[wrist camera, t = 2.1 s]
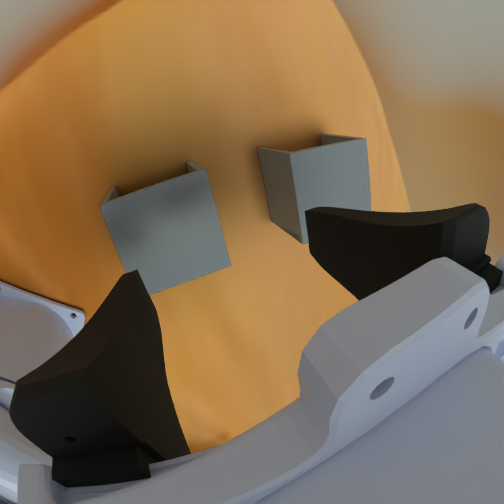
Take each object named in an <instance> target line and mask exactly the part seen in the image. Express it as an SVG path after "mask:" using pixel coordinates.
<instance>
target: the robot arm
mask: <svg viewBox="0 0 504 504" xmlns="http://www.w3.org/2000/svg"><path fill="white" fill-rule="evenodd" d="M305 219H306V226H307V234H308V241H309V250H310V254H311V255H312V256H313V257H314V259H315V260H316V261H317V262H318V263H319V265H320V266H321V267H322V268H323V269H324V270H325V271H326V272H328V273H329V274H330V275H331V276H332V277H333V278H334V279H336V280H337V281H338V282H339V283H340V284H341V285H342V286H344V287H345V288H346V289H347V290H348V291H349V292H350V293H352V294H353V295H354V296H355V297H356V298H357V299H358V300H359V301H358V302H356V303H354V304H352V305H350V306H348V307H346V308H344V309H343V310H341V311H340V312H339V313H337V314H336V315H335V316H333V317H332V318H330V319H329V320H328V321H326V322H325V323H324V324H322V325H321V326H320V327H319V329H318V330H317V331H316V333H315V334H314V335H313V337H312V338H311V339H310V341H309V342H308V343H307V345H306V346H305V347H304V349H303V351H302V356H301V360H300V365H299V370H298V377H299V384H300V397H299V398H297V399H296V400H294V401H293V402H291V403H290V404H288V405H287V406H285V407H284V408H282V409H281V410H279V411H278V412H276V413H275V414H273V415H272V416H270V417H268V418H267V419H265V420H264V421H262V422H260V423H259V424H257V425H255V426H254V427H252V428H250V429H249V430H247V431H245V432H244V433H242V434H240V435H238V436H237V437H235V438H233V439H231V440H229V441H228V442H226V443H224V444H221V445H218V446H215V447H212V448H209V449H206V450H203V451H199V452H196V453H192V454H191V452H190V450H189V448H188V445H187V442H186V440H185V437H184V434H183V432H182V429H181V426H180V423H179V420H178V417H177V414H176V411H175V408H174V404H173V401H172V397H171V394H170V390H169V386H168V382H167V377H166V370H165V362H164V353H163V344H162V334H161V328H160V323H159V319H158V315H157V311H156V308H155V306H154V304H153V302H152V300H151V298H150V296H149V294H148V291H147V289H146V287H145V285H144V283H143V281H142V278H141V276H140V274H139V272H138V269H136V270H134V271H131V272H128V273H126V274H123V275H122V276H121V278H120V279H119V280H118V282H117V283H116V284H115V286H114V287H113V289H112V290H111V292H110V293H109V295H108V296H107V298H106V299H105V300H104V302H103V303H102V304H101V306H100V307H99V308H98V310H97V311H96V313H95V314H94V315H93V317H92V318H91V319H90V320H89V321H88V323H87V324H86V325H85V326H84V322H85V313H84V312H83V311H81V310H79V309H76V308H72V307H69V306H66V305H63V304H60V303H57V302H55V301H52V300H49V299H46V298H43V297H40V296H38V295H35V294H32V293H30V292H27V291H24V290H22V289H19V288H17V287H14V286H12V285H9V284H7V283H4V282H2V281H0V287H1V289H0V498H1V499H0V504H10V503H11V504H504V255H503V256H502V257H501V258H500V259H499V260H498V261H497V263H496V265H495V266H493V265H491V264H490V263H489V262H490V261H491V258H490V256H488V255H486V254H485V249H486V244H487V239H488V233H489V216H488V212H487V210H486V208H485V207H483V206H481V205H479V204H476V203H473V204H467V205H462V206H458V207H453V208H448V209H442V210H435V211H426V212H406V213H399V212H375V211H364V210H355V209H346V208H337V207H315V208H312V209H309V210H306V211H305ZM71 313H75V314H76V316H74V315H72V314H71ZM2 499H3V500H2ZM4 500H5V501H4ZM6 501H7V502H6ZM8 502H9V503H8Z"/></svg>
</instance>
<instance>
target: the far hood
mask: <svg viewBox="0 0 504 504" xmlns="http://www.w3.org/2000/svg"><path fill="white" fill-rule="evenodd" d="M320 138H321V145H322V146H317V147H312V148H308V149H303V150H299V151H294V152H290V151H285V150H279V149H273V148H267V147H258V148H257V151H258V156H259V161H260V166H261V171H262V176H263V181H264V186H265V191H266V196H267V201H268V207H269V212H270V217H271V221H272V222H273V223H275V224H276V225H277V226H279V227H280V228H281V229H283V230H284V231H285V232H287V233H288V234H290V235H291V236H292V237H294V238H295V239H296V240H298V241H299V242H300V243H302V244H306V243H309V241H308V234H307V226H306V219H305V211H306V210H309V209H312V208H315V207H337V208H346V209H355V210H364V211H371V196H370V179H369V165H368V154H367V144H366V138H358V137H350V136H341V135H331V134H320Z"/></svg>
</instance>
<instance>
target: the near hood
mask: <svg viewBox="0 0 504 504" xmlns="http://www.w3.org/2000/svg"><path fill="white" fill-rule="evenodd" d="M186 165H187V169H188V174H184V175H181V176H178V177H175V178H172V179H169V180H166V181H163V182H160V183H157V184H154V185H151V186H148V187H145V188H143V189H140V190H137V191H134V192H132V193H129V194H126V195H123V196H121V197H119V195H118V192H117V189H116V186H114V187H112V188H110V189H109V191H108V193H107V194H106V196H105V198H104V199H103V201H102V203H101V204H100V209H101V212H102V215H103V217H104V220H105V223H106V225H107V228H108V230H109V233H110V235H111V238H112V240H113V243H114V245H115V248H116V250H117V252H118V255H119V257H120V259H121V262H122V264H123V266H124V268H125V271H126V273H128V272H131V271H134V270H136V269H138V272H139V274H140V276H141V278H142V281H143V283H144V285H145V287H146V289H147V291H148V294H149V295H151V294H154V293H157V292H160V291H162V290H165V289H168V288H171V287H174V286H176V285H179V284H182V283H185V282H187V281H190V280H193V279H196V278H199V277H201V276H204V275H207V274H210V273H212V272H215V271H218V270H221V269H223V268H226V267H229V266H231V262H230V258H229V255H228V251H227V247H226V244H225V240H224V236H223V232H222V229H221V225H220V221H219V217H218V213H217V210H216V206H215V202H214V198H213V194H212V190H211V186H210V182H209V178H208V175H207V171H206V169H205V168H203V167H202V166H200V165H198V164H197V163H195V162H193V161H192V160H191V161H188V162H186Z"/></svg>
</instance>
